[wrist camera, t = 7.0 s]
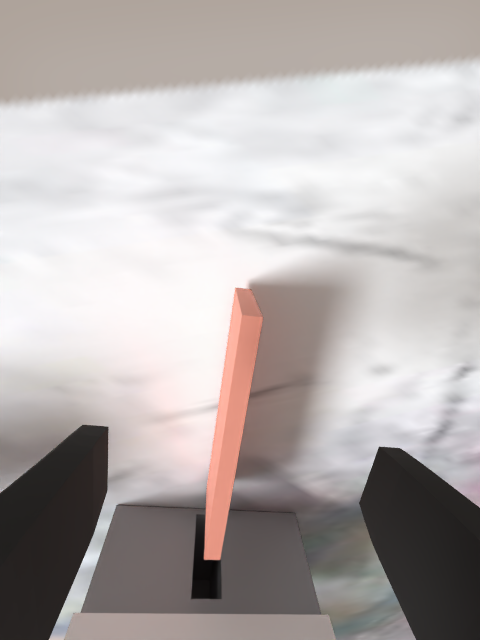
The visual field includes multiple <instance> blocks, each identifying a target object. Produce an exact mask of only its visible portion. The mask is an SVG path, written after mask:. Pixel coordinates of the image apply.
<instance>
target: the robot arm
mask: <svg viewBox="0 0 480 640" xmlns="http://www.w3.org/2000/svg"><path fill="white" fill-rule="evenodd" d="M107 476H108V427H104V426H91V425H82V426H81V427H79V428H78V429H77V430H76V431H75V432H73V433H72V434H71V435H70V436H69V437H67V438H66V439H65V440H64V441H63V442H62V443H60V444H59V445H58V446H57V447H56V448H55V449H53V450H52V451H51V452H50V453H49V454H47V455H46V456H45V457H44V458H43V459H41V460H40V461H39V462H38V463H37V464H36V465H34V466H33V467H32V468H31V469H29V470H28V471H27V472H26V473H25V474H23V475H22V476H21V477H20V478H18V479H17V480H16V481H15V482H13V483H12V484H11V485H10V486H8V487H7V488H6V489H5V490H3V491H2V492H1V493H0V640H49V638H50V635H51V633H52V631H53V628H54V626H55V624H56V621H57V619H58V617H59V614H60V612H61V610H62V607H63V605H64V603H65V600H66V598H67V596H68V593H69V591H70V589H71V586H72V584H73V582H74V579H75V577H76V575H77V572H78V570H79V568H80V565H81V563H82V560H83V558H84V556H85V553H86V551H87V549H88V546H89V544H90V541H91V539H92V537H93V534H94V531H95V528H96V525H97V522H98V519H99V515H100V512H101V509H102V506H103V502H104V499H105V496H106V493H107ZM359 504H360V507H361V510H362V513H363V517H364V520H365V523H366V526H367V529H368V532H369V535H370V538H371V541H372V543H373V546H374V548H375V551H376V553H377V555H378V557H379V560H380V562H381V564H382V566H383V568H384V571H385V573H386V575H387V577H388V579H389V582H390V584H391V586H392V588H393V590H394V593H395V595H396V597H397V599H398V601H399V603H400V606H401V608H402V610H403V612H404V614H405V616H406V619H407V621H408V623H409V625H410V627H411V629H412V632H413V634H414V636H415V638H416V640H480V508H479V507H478V506H477V505H475V504H474V503H473V502H471V501H470V500H469V499H468V498H466V497H465V496H464V495H462V494H461V493H460V492H458V491H457V490H456V489H454V488H453V487H452V486H451V485H449V484H448V483H447V482H445V481H444V480H443V479H441V478H440V477H439V476H438V475H436V474H435V473H434V472H432V471H431V470H430V469H428V468H427V467H426V466H424V465H423V464H422V463H420V462H419V461H418V460H416V459H415V458H413V457H412V456H411V455H409V454H408V453H406V452H405V451H403V450H402V449H400V448H390V447H379V449H378V451H377V454H376V457H375V460H374V463H373V466H372V468H371V471H370V474H369V477H368V480H367V483H366V485H365V488H364V491H363V494H362V497H361V500H360V502H359Z"/></svg>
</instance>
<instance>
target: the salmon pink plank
mask: <svg viewBox="0 0 480 640" xmlns="http://www.w3.org/2000/svg"><path fill="white" fill-rule="evenodd" d="M262 321H263V316H262V314H261V311H260V309H259V307H258V304H257V302H256V300H255V297H254V295H253V293H252V290H251V289H243V288H235V294H234V301H233V308H232V315H231V322H230V328H229V335H228V342H227V349H226V356H225V363H224V370H223V377H222V384H221V391H220V398H219V405H218V412H217V419H216V426H215V433H214V440H213V447H212V454H211V461H210V468H209V475H208V482H207V491H206V520H205V549H204V560H220V557H221V552H222V546H223V541H224V535H225V529H226V524H227V518H228V512H229V507H230V501H231V496H232V490H233V484H234V479H235V473H236V467H237V462H238V456H239V451H240V445H241V439H242V434H243V428H244V423H245V417H246V411H247V406H248V400H249V394H250V389H251V383H252V378H253V372H254V366H255V361H256V355H257V349H258V344H259V338H260V333H261V327H262Z"/></svg>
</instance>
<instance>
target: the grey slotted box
mask: <svg viewBox="0 0 480 640" xmlns="http://www.w3.org/2000/svg"><path fill="white" fill-rule="evenodd" d="M205 520H206V509H191V508H169V507H147V506H124V505H117V506H116V509H115V512H114V515H113V518H112V521H111V524H110V527H109V530H108V533H107V536H106V539H105V542H104V545H103V548H102V551H101V554H100V557H99V559H98V562H97V565H96V568H95V571H94V574H93V577H92V580H91V583H90V586H89V589H88V592H87V595H86V598H85V601H84V604H83V607H82V610H81V613H73V616H72V619H71V622H70V624H69V627H68V630H67V633H66V636H65V639H64V640H336V638H335V635H334V631H333V628H332V624H331V620H330V617H329V615H321V612H320V608H319V604H318V600H317V596H316V592H315V588H314V584H313V581H312V577H311V573H310V569H309V565H308V561H307V557H306V554H305V550H304V546H303V542H302V538H301V534H300V530H299V526H298V523H297V519H296V515H295V513H281V512H259V511H236V510H229V512H228V518H227V524H226V529H225V535H224V541H223V546H222V552H221V557H220V560H204V549H205Z"/></svg>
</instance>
